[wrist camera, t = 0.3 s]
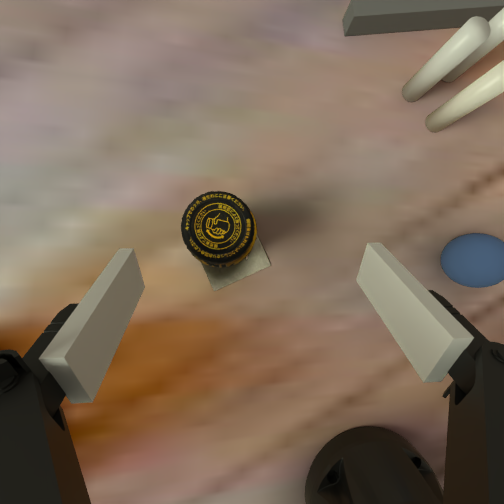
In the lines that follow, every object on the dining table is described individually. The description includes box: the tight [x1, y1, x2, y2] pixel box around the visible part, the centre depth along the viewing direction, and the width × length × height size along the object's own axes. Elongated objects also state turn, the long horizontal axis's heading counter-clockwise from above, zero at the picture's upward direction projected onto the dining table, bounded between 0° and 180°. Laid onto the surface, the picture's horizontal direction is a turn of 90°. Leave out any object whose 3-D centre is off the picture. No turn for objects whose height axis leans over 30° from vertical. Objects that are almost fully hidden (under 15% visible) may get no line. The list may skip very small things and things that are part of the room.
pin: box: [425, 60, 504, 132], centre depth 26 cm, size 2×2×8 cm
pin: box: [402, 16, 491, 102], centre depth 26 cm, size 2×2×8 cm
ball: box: [441, 233, 504, 288], centre depth 28 cm, size 6×6×6 cm
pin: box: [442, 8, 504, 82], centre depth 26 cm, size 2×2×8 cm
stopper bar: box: [343, 0, 504, 36], centre depth 29 cm, size 2×20×2 cm, turn 97°
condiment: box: [181, 191, 271, 291], centre depth 23 cm, size 7×8×12 cm
